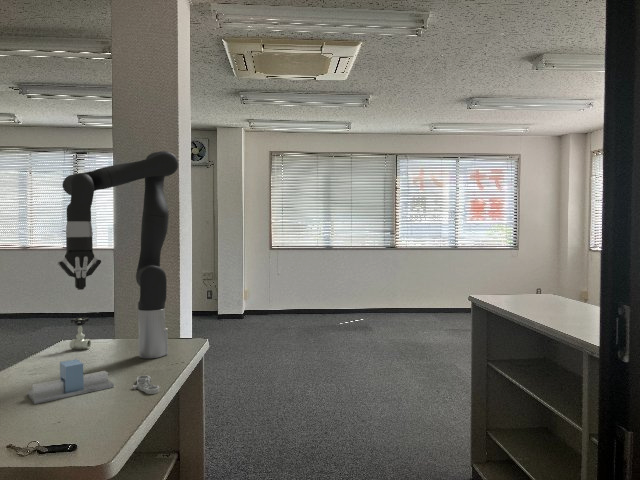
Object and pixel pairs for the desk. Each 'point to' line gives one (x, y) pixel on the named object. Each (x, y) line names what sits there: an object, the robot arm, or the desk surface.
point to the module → (72, 374)
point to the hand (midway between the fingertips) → (80, 289)
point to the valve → (80, 335)
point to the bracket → (146, 385)
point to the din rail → (57, 391)
